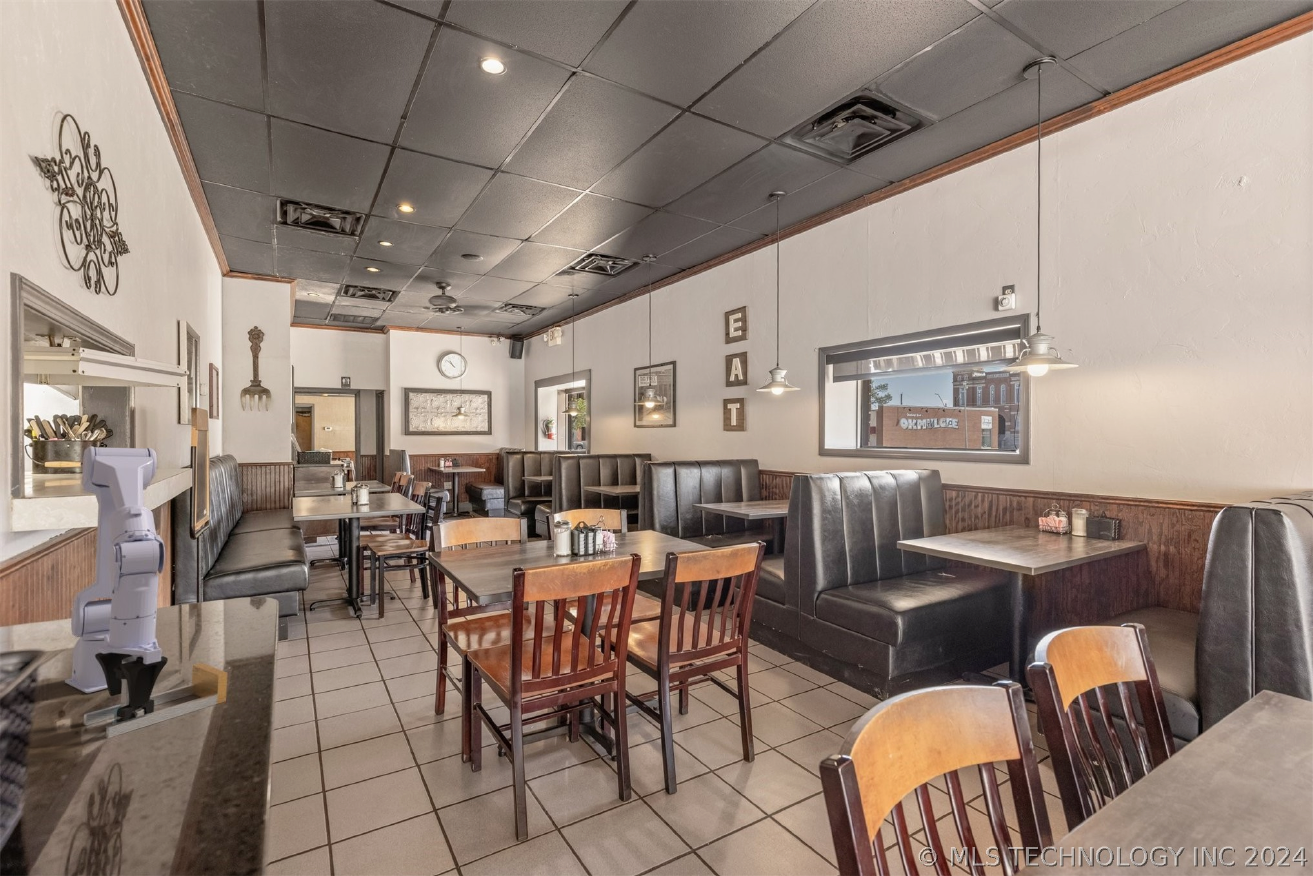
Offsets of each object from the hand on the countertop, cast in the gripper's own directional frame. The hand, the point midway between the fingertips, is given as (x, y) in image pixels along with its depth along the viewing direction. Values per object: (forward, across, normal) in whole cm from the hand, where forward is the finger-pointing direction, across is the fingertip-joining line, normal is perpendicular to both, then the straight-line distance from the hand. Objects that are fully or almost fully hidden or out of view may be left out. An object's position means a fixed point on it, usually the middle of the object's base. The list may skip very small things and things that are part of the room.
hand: (128, 699), depth 98 cm
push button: (+4, 0, 0) cm, 4 cm away
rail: (+4, 0, +4) cm, 5 cm away
